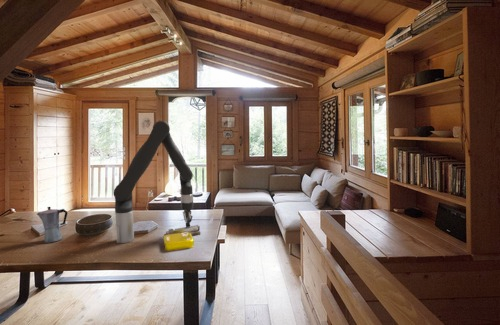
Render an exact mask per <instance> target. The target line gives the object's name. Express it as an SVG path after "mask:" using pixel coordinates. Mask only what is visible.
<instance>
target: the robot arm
mask: <svg viewBox="0 0 500 325" xmlns="http://www.w3.org/2000/svg"><path fill="white" fill-rule="evenodd" d="M170 127H171V126H170V125H169V123H168V122H167V121H165V120H158V121H156V122H154V123H153V126H152V130H151V132H149V133H150V134H149V135H148V138H146V140H145V142H144V143H143V144H142V146H141V147H139V149H138V151H136V154H135V155H134V157H133V158H132V160H131V161H130V164H129V166H128V168H127V170H126V173H125V175H124V176H123V178H122V179H121V181H120V182H119V183H118V184H117V185H116V186H115V188H114V189H113V197H114V201H115V204H114V214H115V238H116V239H115V240H116V244H125V243H130V242H133V241H134V240H135V232H134V231H135V230H134V229H135V228H134V211H133V208H134V207H133V206H134V205H133V203H134V202H133V191H134V188H135V187H136V185H137V183H138V181H139V180H140V179H141V177H142V176H143V175H144V173H145V172H146V170H148V167H149V166H150V164H151V162H153V161H152V160H153V159H154V157H155V155H156V153H157V151H158V148H159V147H160V145H161V143H162V145H163V146H164V149H165V150H166V152H167V154H168V156H169V159H170V161H171V162H172V164H173V165H174V168H175V169H176V170H177V171H178V174H179V184H180V208H181V210H183V211H182V216H183V220H184V222H185V227H189V226H191V222H192V220H193V215H192V211H191V210H192V209H194V194H193V185H192V180H193V177H194V174H193V170H192V169H191V168H190V167H189V165H188V164H187V162H186V160H185V158H184V156H183V154H182V152H181V151H180V148H178V147H177V145H176V143H175V141H174V140H173V138H172V135H171V133H170V130H171V128H170Z"/></svg>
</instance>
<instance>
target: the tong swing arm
mask: <svg viewBox="0 0 500 325" xmlns="http://www.w3.org/2000/svg"><path fill="white" fill-rule="evenodd" d="M195 226H199V224H195V225H190V226H189V227H195ZM189 227H186V226H183V227H178V228H174V230H178V229H184V228H189Z"/></svg>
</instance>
